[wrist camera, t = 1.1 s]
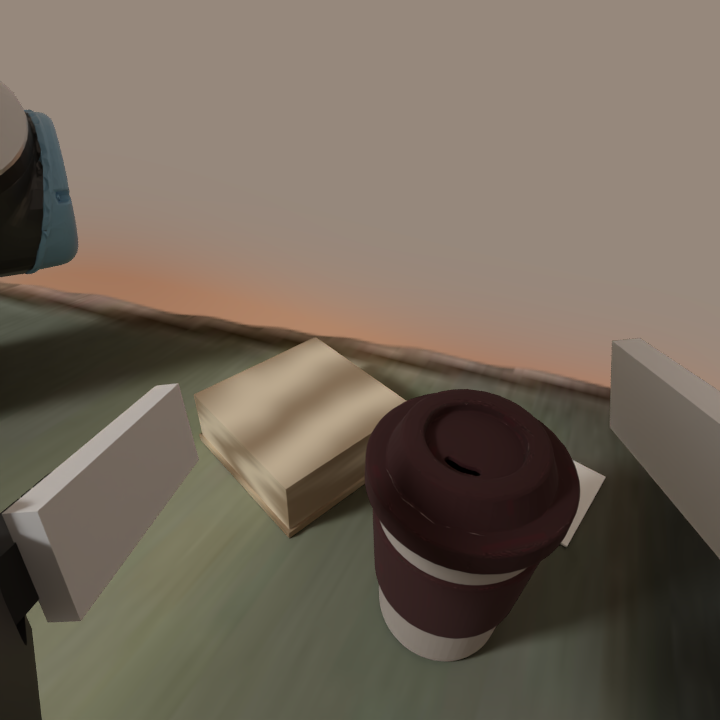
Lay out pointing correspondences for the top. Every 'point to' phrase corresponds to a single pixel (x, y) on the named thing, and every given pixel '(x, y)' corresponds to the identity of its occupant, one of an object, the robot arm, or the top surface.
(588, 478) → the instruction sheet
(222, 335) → the top surface
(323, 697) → the top surface
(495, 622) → the coffee cup
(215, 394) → the tan flat block
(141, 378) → the top surface
